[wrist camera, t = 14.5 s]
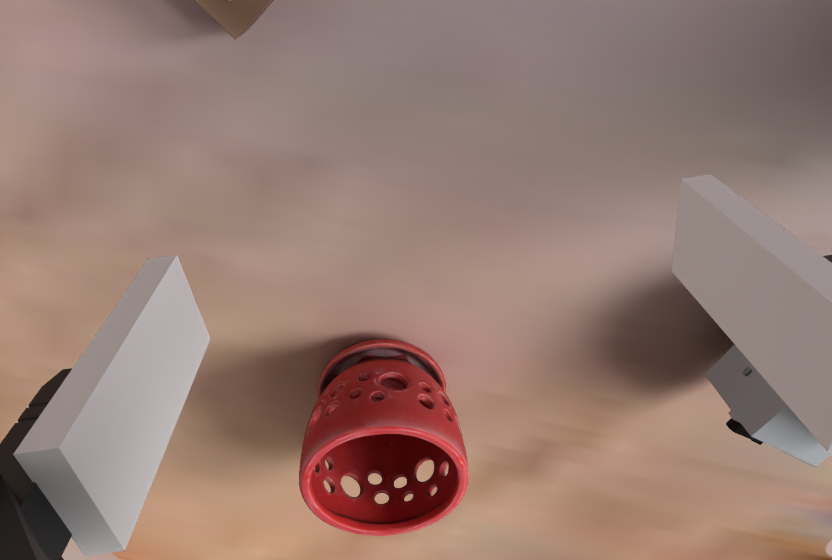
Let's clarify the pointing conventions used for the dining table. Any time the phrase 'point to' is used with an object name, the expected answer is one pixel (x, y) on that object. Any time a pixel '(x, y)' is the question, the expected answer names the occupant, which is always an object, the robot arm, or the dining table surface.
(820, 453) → the circuit breaker
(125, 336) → the robot arm
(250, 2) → the stand
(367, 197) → the dining table surface
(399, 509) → the plant pot
